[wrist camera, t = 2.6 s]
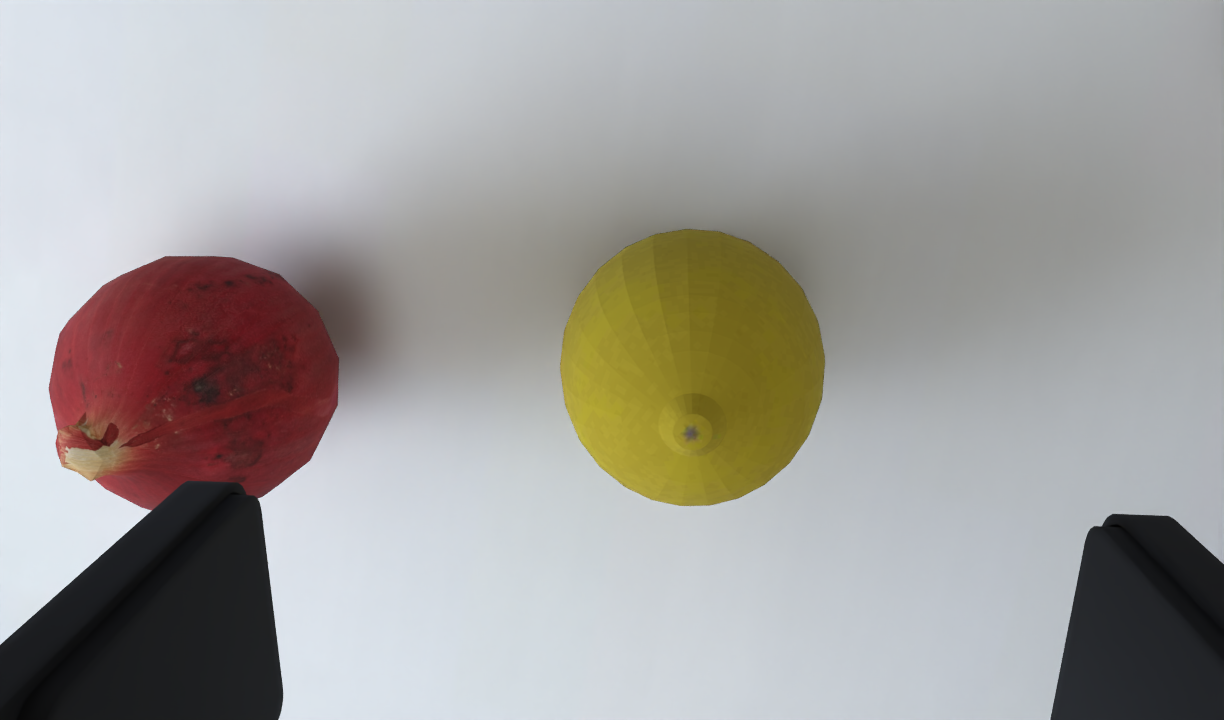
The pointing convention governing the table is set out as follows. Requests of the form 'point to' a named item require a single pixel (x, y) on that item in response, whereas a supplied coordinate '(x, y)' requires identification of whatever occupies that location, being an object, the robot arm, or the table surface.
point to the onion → (192, 380)
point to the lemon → (692, 367)
